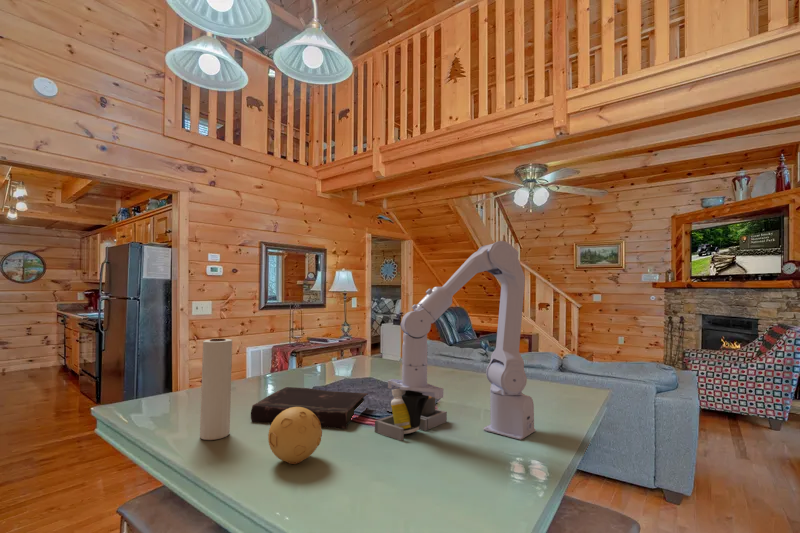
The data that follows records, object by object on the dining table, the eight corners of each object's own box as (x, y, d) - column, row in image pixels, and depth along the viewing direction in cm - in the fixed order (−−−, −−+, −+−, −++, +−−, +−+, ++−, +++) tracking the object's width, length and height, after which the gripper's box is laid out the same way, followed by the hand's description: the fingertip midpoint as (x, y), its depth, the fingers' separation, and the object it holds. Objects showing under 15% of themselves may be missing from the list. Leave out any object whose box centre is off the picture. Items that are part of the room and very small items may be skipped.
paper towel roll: (223, 440, 86) (226, 341, 87) (194, 441, 86) (198, 341, 87) (235, 429, 93) (237, 337, 95) (208, 429, 93) (211, 337, 94)
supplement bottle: (416, 432, 88) (407, 387, 90) (393, 436, 89) (384, 391, 91) (422, 427, 93) (413, 384, 95) (400, 431, 94) (392, 389, 96)
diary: (345, 433, 93) (345, 411, 93) (250, 425, 99) (250, 404, 99) (368, 408, 111) (369, 390, 112) (287, 403, 117) (287, 385, 117)
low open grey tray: (446, 421, 99) (446, 395, 99) (401, 440, 86) (401, 410, 87) (395, 408, 110) (395, 384, 111) (348, 423, 98) (348, 396, 98)
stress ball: (274, 458, 79) (247, 439, 72) (302, 413, 85) (279, 391, 78) (311, 478, 74) (286, 459, 68) (338, 429, 80) (318, 406, 73)
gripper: (379, 362, 92) (378, 422, 91) (429, 370, 83) (429, 438, 81) (399, 359, 97) (398, 416, 96) (449, 366, 88) (448, 429, 87)
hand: (414, 425), depth 89 cm, fingers closed, pressing on supplement bottle
